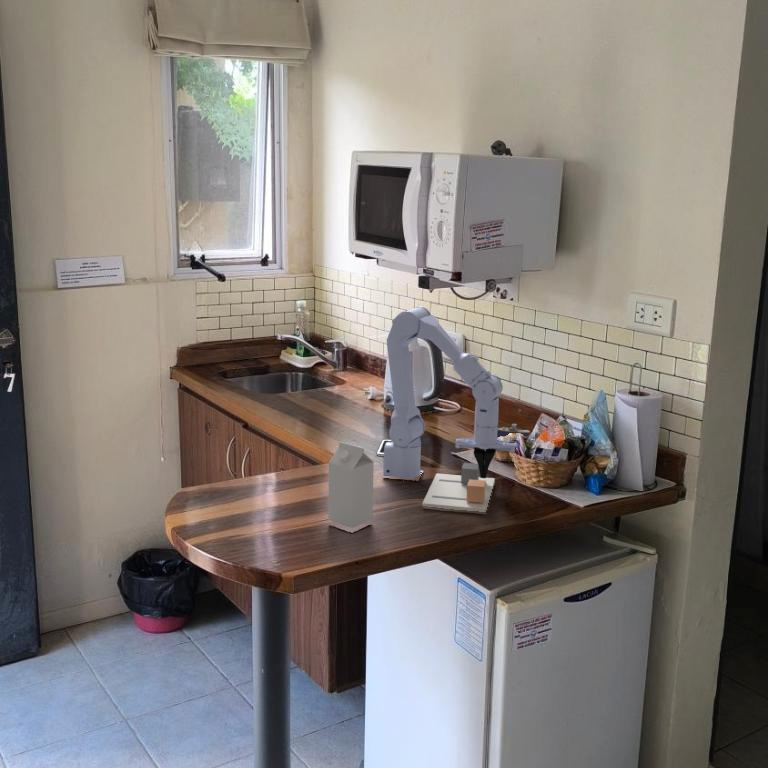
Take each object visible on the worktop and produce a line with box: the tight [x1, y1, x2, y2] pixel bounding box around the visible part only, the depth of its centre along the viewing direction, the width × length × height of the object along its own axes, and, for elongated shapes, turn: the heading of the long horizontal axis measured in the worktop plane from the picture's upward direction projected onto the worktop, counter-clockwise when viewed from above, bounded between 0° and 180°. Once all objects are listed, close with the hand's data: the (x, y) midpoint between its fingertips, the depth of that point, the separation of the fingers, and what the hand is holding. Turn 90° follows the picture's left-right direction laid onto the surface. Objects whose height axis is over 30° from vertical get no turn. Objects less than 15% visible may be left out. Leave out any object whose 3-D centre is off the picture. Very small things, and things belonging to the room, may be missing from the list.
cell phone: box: [375, 438, 392, 455], centre depth 262 cm, size 8×15×1 cm, turn 173°
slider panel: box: [421, 473, 496, 512], centre depth 226 cm, size 15×22×2 cm
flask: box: [497, 423, 531, 437], centre depth 252 cm, size 9×3×11 cm, turn 78°
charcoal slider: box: [460, 462, 480, 484], centre depth 231 cm, size 4×4×4 cm
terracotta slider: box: [466, 479, 486, 503], centre depth 219 cm, size 4×4×4 cm
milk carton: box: [327, 441, 375, 528], centre depth 204 cm, size 7×7×19 cm
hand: (483, 477), depth 230 cm, fingers closed
